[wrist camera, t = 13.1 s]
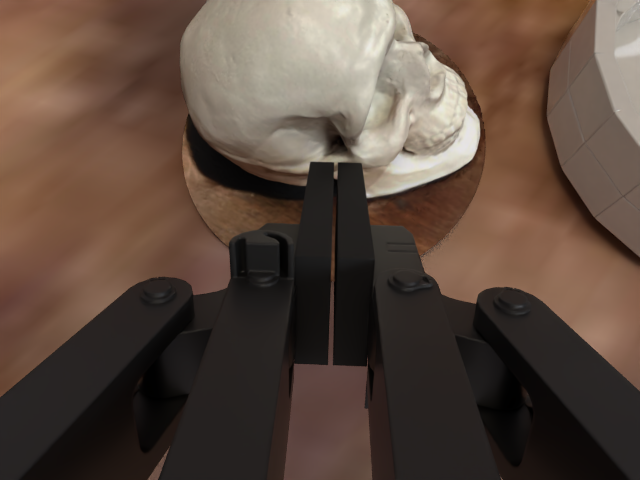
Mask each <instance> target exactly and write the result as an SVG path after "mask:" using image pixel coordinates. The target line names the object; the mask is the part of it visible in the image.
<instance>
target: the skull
mask: <svg viewBox="0 0 640 480" xmlns="http://www.w3.org/2000/svg"><path fill="white" fill-rule="evenodd" d="M180 72H181V87H182V91H183V95H184V99H185V102H186V104H187V107H188V110H189V114H188V117H187V121H186V125H185V129H184V134H183V144H182V162H183V170H184V176H185V180H186V184H187V187H188V190H189V193H190V196H191V198H192V200H193V202H194V204H195V206H196V208H197V210H198V212H199V214H200V215H201V217H202V218H203V220H204V221H205V223H206V224H207V225H208V227H209V228H210V229H211V230H212V231H213V232H214V234H215V235H216V236H217V237H218V238H219V239H220V240H221V241H222V242H224V243H225V244H226V245H227V246H228V247H229V241H230V240H231V239H232V238H233V237H234V236H236V235H239V234H241V233H243V232H248V231H252V230H258V229H259V228H261V227H262V226H263V225H265V224H266V223H284V224H300V219H301V213H302V208H303V202H304V196H305V190H306V184H307V178H308V172H309V166H310V162H334V186H333V223H332V260H331V281H334V273H335V227H336V201H337V175H338V162H342V163H362V168H363V175H364V182H365V190H366V197H367V204H368V211H369V219H370V225H387V226H403V227H404V228H406V229H407V230H408V231H409V232H411V233H412V234H413V237H414V240H415V243H416V246H417V249H418V253H419V256H420V255H422V254H423V253H424V252H426V251H427V250H428V249H430V248H432V247H433V246H434V245H435V244H436V243H437V242H438V241H439V240H442V239H443V238H444V237H445V235H446V234H447V233H448V232H449V231H450V230H451V229H452V228H453V227H454V226H455V224H456V223H457V222H458V221H459V220H460V218H461V217H462V215H463V214H464V212H465V211H466V209H467V208H468V206H469V204H470V202H471V201H472V199H473V197H474V194H475V192H476V190H477V187H478V185H479V182H480V179H481V175H482V171H483V166H484V160H485V129H484V125H483V124H484V122H483V121H482V113H481V109H480V106H479V104H478V102H477V100H476V96H475V95H474V93H473V90H472V89H471V87H470V85H469V83H468V81H467V79H466V78H465V76H464V74H462V73H461V71H459V68H458V67H457V66H456V65H455V63H454V62H452V61H451V59H450V58H449V57H448V56H447V55H444V53H443V52H442V51H441V50H440V49H438V48H437V47H436V46H435V45H433V44H432V43H431V42H428V41H427V40H426V39H424V38H423V37H420V36H419V35H418V34H414V33H413V31H412V30H411V25H410V22H409V19H408V17H407V16H406V14H405V13H404V11H403V10H402V9H401V8H400V7H399V6H397V5H395V4H393V1H392V0H207V2H206V4H205V5H204V6H203V7H202V9H201V10H200V11H199V12H198V13H197V14H196V16H195V17H194V18H193V20H192V21H191V23H190V24H189V25H188V26H187V28H186V30H185V32H184V34H183V36H182V39H181V43H180Z"/></svg>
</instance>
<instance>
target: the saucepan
mask: <svg viewBox="0 0 640 480" xmlns="http://www.w3.org/2000/svg"><path fill="white" fill-rule="evenodd" d="M547 121H548V124H549V127H550V131H551V134H552V138H553V141H554V145H555V148H556V152H557V155H558V159H559V162H560V166H561V167H562V170H563V172H564V173H565V175H566V176H567V178H568V179H569V181H570V182H571V184H572V185H573V187H574V188H575V190H576V191H577V193H578V194H579V196H580V197H581V199H582V200H583V202H584V203H585V205H586V206H587V208H588V209H589V211H590V212H591V214H592V215H593V217H595V219H596V220H597V221H598V222H600V223H601V224H602V225H603V226H604V227H605V228H606V229H608V230H609V231H610V232H611V233H612V234H613V235H615V236H616V237H617V238H618V239H619V240H620V241H621V242H623V243H624V244H625V245H626V246H627V247H628V248H630V249H631V250H632V251H633V252H634V253H635V254H636V255H638V256H639V257H640V0H590V1H589V3H588V4H587V6H586V8H585V9H584V11H583V12H582V14H581V15H580V17H579V18H578V20H577V21H576V23H575V25H574V26H573V28H572V29H571V31H570V32H569V34H568V36H567V38H566V40H565V42H564V44H563V46H562V48H561V50H560V52H559V54H558V55H557V57H556V59H555V61H554V63H553V65H552V67H551V69H550V78H549V90H548V103H547Z"/></svg>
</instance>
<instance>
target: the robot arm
mask: <svg viewBox="0 0 640 480" xmlns="http://www.w3.org/2000/svg"><path fill="white" fill-rule="evenodd" d="M333 186H334V162H310V166H309V172H308V178H307V184H306V190H305V196H304V202H303V208H302V213H301V219H300V224H284V223H266V224H265V225H263V226H262V227H261V228H259V229H258V230H252V231H248V232H243V233H241V234H239V235H236V236H234V237H233V238H232V239H231V240H230V241H229V253H230V269H231V279H230V282H229V284H228V287H227V288H226V289H223V290H220V291H217V292H212V293H207V294H200V295H193V292H192V287H191V285H190V284H188V283H187V282H186V281H184V280H181V279H177V278H169V277H158V278H157V277H156V278H151V279H148V280H146V281H143V282H140V283H137V284H136V285H134V286H133V287H131V288H129V289H128V290H127V291H126V292H124V293H123V294H122V295H121V296H120V297H119V298H117V299H116V300H115V301H114V302H113V303H111V304H110V305H109V306H108V307H107V308H106V309H104V310H103V311H102V312H101V313H100V314H98V315H97V316H96V317H95V318H94V319H93V320H91V321H90V322H89V323H88V324H87V325H85V326H84V327H83V328H82V329H81V330H80V331H78V332H77V333H76V334H75V335H74V336H72V337H71V338H70V339H69V340H68V341H66V342H65V343H64V344H63V345H62V346H61V347H59V348H58V349H57V350H56V351H55V352H53V353H52V354H51V355H50V356H49V357H48V358H46V359H45V360H44V361H43V362H42V363H40V364H39V365H38V366H37V367H36V368H35V369H33V370H32V371H31V372H30V373H29V374H27V375H26V376H25V377H24V378H23V379H22V380H20V381H19V382H18V383H17V384H16V385H14V386H13V387H12V388H11V389H10V390H9V391H7V392H6V393H5V394H4V395H3V396H1V397H0V480H147V479H148V478H149V476H150V475H151V473H152V472H153V470H154V469H155V467H156V466H157V464H158V463H159V461H160V460H161V459H162V457H163V456H164V454H165V453H166V451H167V450H168V448H169V447H170V448H169V451H168V454H167V457H166V460H165V462H164V465H163V468H162V471H161V473H160V476H159V479H158V480H283V479H284V469H285V460H286V450H287V440H288V430H289V420H290V411H291V401H292V391H293V381H294V364H319V365H328V344H329V316H330V288H331V260H332V223H333ZM367 357H368V371H367V384H366V397H365V408H368V411H369V429H370V446H371V463H372V480H501V478H500V476H501V477H502V479H503V480H640V391H639V390H638V389H637V388H635V387H634V386H633V385H632V384H631V383H630V382H629V381H628V380H627V379H626V378H625V377H624V376H622V375H621V374H620V373H619V372H618V371H617V370H616V369H615V368H614V367H613V366H612V365H611V364H609V363H608V362H607V361H606V360H605V359H604V358H603V357H602V356H601V355H600V354H599V353H598V352H596V351H595V350H594V349H593V348H592V347H591V346H590V345H589V344H588V343H587V342H586V341H584V340H583V339H582V338H581V337H580V336H579V335H578V334H577V333H576V332H575V331H574V330H573V329H571V328H570V327H569V326H568V325H567V324H566V323H565V322H564V321H563V320H562V319H561V318H560V317H558V316H557V315H556V314H555V313H554V312H553V311H552V310H551V309H550V308H549V307H548V306H547V305H545V304H544V303H543V302H542V301H541V300H539V299H538V298H536V297H535V296H533V295H531V294H529V293H526V292H524V291H522V290H520V289H516V288H514V289H513V288H510V287H504V288H501V287H495V288H490V289H486V290H484V291H482V292H481V293H480V294H478V298H477V303H476V304H473V303H469V302H464V301H459V300H456V299H452V298H449V297H447V296H444V295H442V294H441V292H440V289H439V286H438V284H437V282H436V281H435V280H434V278H432V277H431V276H429V275H428V274H426V273H425V272H424V269H423V266H422V262H421V259H420V256H419V253H418V249H417V246H416V243H415V240H414V237H413V234H412V233H411V232H409V231H408V230H407V229H406V228H404V227H403V226H387V225H370V219H369V211H368V204H367V197H366V190H365V182H364V175H363V168H362V163H342V162H338V175H337V201H336V227H335V273H334V342H333V365H345V366H367ZM170 445H171V446H170ZM499 474H500V475H499Z"/></svg>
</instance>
